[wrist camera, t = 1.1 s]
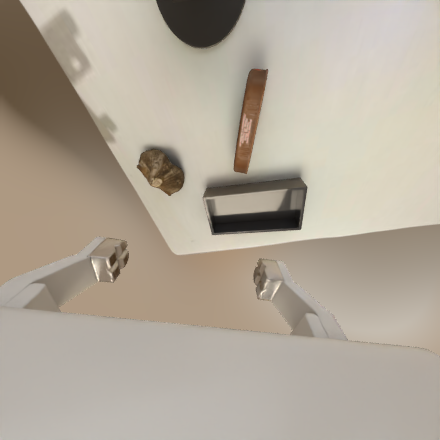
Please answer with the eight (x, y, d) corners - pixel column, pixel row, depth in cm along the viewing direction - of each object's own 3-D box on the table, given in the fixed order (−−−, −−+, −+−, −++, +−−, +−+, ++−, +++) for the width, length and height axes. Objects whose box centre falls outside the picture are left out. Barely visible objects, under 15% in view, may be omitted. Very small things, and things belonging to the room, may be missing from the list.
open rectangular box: (300, 177, 36) (307, 186, 32) (295, 217, 42) (301, 229, 38) (206, 188, 39) (202, 197, 36) (214, 223, 45) (212, 235, 42)
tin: (247, 166, 35) (249, 181, 29) (233, 164, 35) (231, 179, 29) (266, 74, 26) (275, 64, 20) (247, 71, 27) (249, 61, 20)
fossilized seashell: (129, 161, 35) (161, 195, 41) (130, 166, 30) (166, 205, 36) (158, 140, 35) (185, 177, 42) (163, 142, 30) (193, 184, 36)
